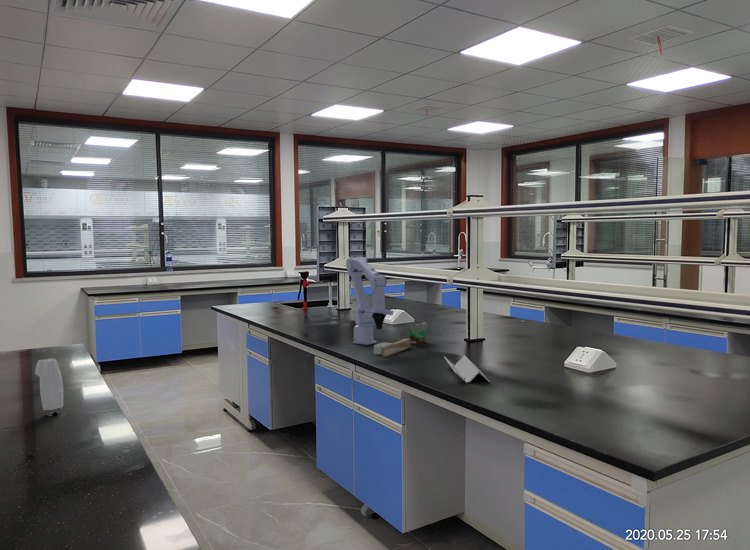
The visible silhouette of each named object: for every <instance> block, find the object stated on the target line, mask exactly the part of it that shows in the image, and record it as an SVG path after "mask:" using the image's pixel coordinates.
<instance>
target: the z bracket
mask: <svg viewBox="0 0 750 550" xmlns="http://www.w3.org/2000/svg"><path fill="white" fill-rule="evenodd" d="M443 358H444V359H445V361H446V362H447V363H448V365H449V366H450V368H451V369H452V370H453V372H454V373H455V374H456V375H457V376H458V377H459V378H461V380H463V382H465V383H466V384H467V382H470V383H471V382H472V380H473V379H475V377H477V375H479V374H480V375H481V376H482V377H483V378H484V379H485V380H486V381H488V382H489V383H490V382H491V380H490V379H488V377H487V376H486V375H485V374H484V373H483V372H482V371H481V370H480V369H479V368H478V367H477V365H476V364H475V363H473V362H472V361H471V360H470V358H468V357H467V356H466V355H463V356H462V357H461V358H460V359H459V360H458V361H457V362H456V364H454V363H452V362H451V361H450V360H449V359H448V358H447V357H446V356H445V355H444V356H443ZM486 377H487V378H486ZM464 378H465V379H464Z"/></svg>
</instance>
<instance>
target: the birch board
mask: <svg viewBox="0 0 750 550" xmlns="http://www.w3.org/2000/svg"><path fill="white" fill-rule="evenodd" d="M391 343H392V344H390V345H387V346H384V347H382V348H381V351H382V355H381V357H383V358H384V357H385V358H387V357H390V356H392V355H394V354H397V353H399V352H401V351H404V350H406V349H410V347H411V344H410V338H403V339H401V340H398V341H395V342H391ZM389 355H390V356H389Z"/></svg>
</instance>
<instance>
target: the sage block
mask: <svg viewBox="0 0 750 550" xmlns="http://www.w3.org/2000/svg"><path fill="white" fill-rule="evenodd" d="M392 343H393V342H383V341H382V342H380V343H376V344H375V345H373V354H374V355H380V354H382V351H381V348H382V347H384V346H387V345H390V344H392Z"/></svg>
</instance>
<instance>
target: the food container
mask: <svg viewBox="0 0 750 550" xmlns="http://www.w3.org/2000/svg"><path fill="white" fill-rule="evenodd" d="M407 327H408V328H407V329H408V331H409V339H410V346H411V345H412V346H413V345H414V346H417V345H419V344H420V345H424V343H425V344H426V339H427V338H426V337H427V328H428V323H427V322H426V321H422V320H421V321H420V323H414V324H408V326H407ZM420 345H419V346H420Z"/></svg>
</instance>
